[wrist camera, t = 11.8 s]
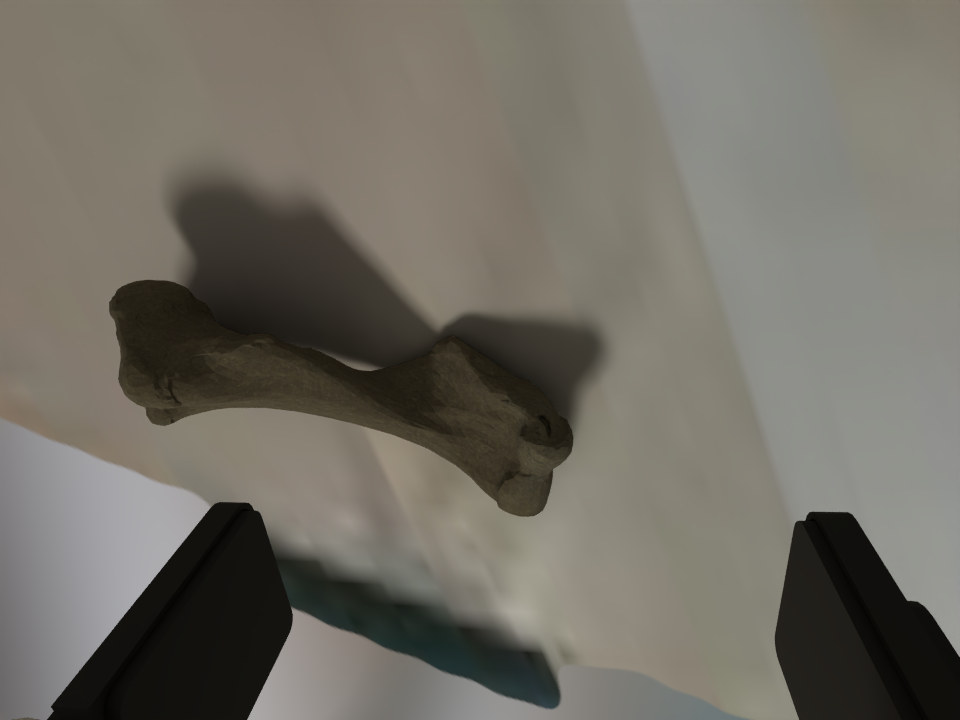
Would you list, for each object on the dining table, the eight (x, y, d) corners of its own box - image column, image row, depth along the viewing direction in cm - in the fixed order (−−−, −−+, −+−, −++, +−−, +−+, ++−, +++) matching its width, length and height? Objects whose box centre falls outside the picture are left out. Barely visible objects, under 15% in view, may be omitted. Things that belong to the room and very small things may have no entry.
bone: (601, 441, 35) (56, 298, 30) (536, 552, 41) (67, 447, 36) (579, 350, 43) (148, 225, 38) (527, 452, 49) (146, 355, 44)
